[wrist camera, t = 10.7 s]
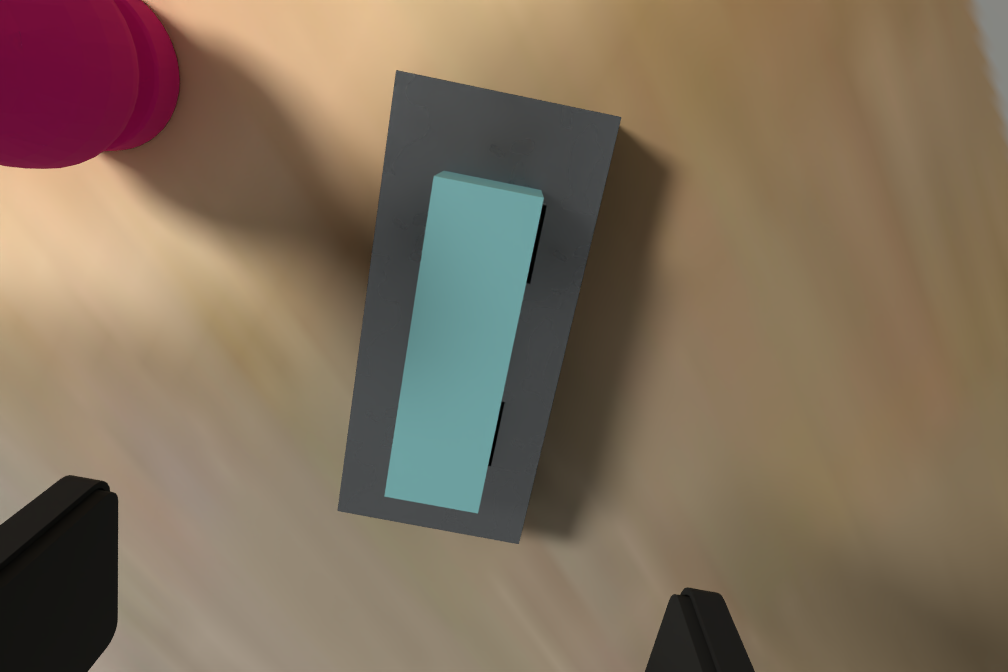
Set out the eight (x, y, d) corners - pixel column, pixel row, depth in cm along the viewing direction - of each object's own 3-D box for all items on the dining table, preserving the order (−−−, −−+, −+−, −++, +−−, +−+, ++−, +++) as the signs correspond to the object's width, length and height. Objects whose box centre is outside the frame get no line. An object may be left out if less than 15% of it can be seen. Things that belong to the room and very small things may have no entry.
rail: (410, 76, 25) (396, 70, 22) (609, 118, 25) (621, 117, 22) (354, 475, 30) (337, 510, 28) (518, 505, 31) (518, 544, 28)
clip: (451, 166, 26) (433, 175, 20) (539, 183, 26) (543, 197, 21) (409, 430, 29) (384, 496, 24) (485, 444, 30) (477, 513, 24)
